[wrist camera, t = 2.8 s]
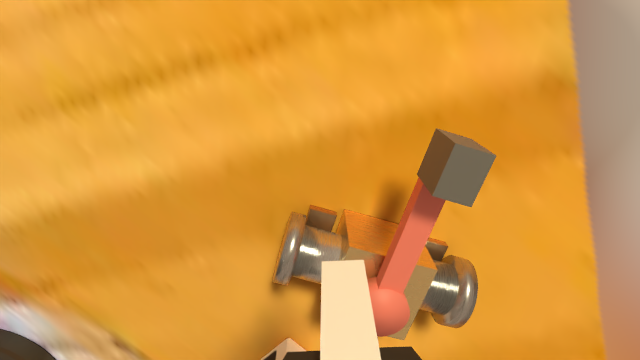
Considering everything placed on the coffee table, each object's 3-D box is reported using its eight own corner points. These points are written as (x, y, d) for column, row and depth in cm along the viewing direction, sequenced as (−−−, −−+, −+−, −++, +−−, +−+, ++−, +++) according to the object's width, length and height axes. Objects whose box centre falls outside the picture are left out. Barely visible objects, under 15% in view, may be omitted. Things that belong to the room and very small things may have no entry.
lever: (393, 324, 30) (404, 368, 26) (345, 312, 29) (349, 355, 25) (479, 140, 24) (509, 159, 20) (422, 122, 24) (441, 138, 20)
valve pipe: (276, 260, 35) (266, 306, 29) (295, 195, 33) (290, 230, 27) (432, 301, 37) (454, 352, 31) (462, 241, 35) (492, 284, 29)
